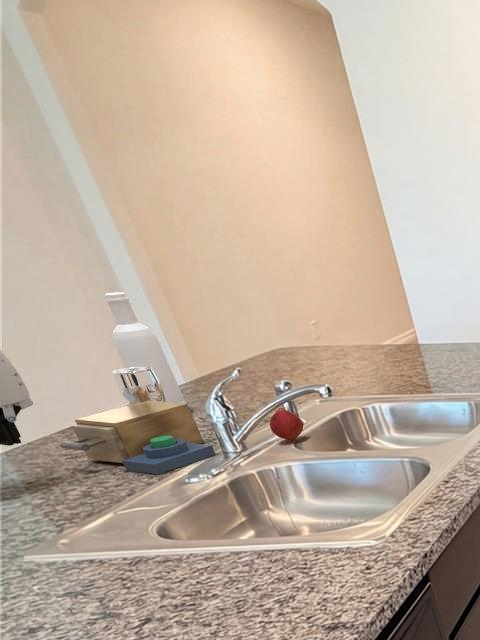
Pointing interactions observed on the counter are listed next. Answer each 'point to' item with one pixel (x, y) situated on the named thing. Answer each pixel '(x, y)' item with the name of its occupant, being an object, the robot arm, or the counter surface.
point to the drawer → (98, 442)
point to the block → (168, 457)
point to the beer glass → (139, 384)
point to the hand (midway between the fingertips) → (10, 443)
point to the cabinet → (147, 424)
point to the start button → (162, 441)
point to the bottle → (140, 345)
